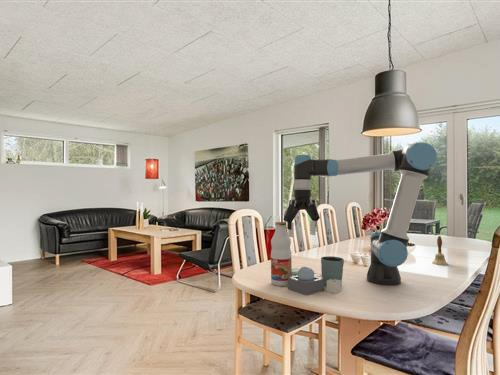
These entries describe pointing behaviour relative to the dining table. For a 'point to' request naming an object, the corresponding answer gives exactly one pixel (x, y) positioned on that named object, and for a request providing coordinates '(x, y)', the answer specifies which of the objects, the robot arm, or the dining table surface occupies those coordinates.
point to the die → (333, 285)
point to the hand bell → (439, 254)
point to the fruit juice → (280, 256)
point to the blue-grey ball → (305, 274)
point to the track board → (295, 271)
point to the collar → (306, 285)
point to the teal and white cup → (331, 268)
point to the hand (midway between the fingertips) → (302, 235)
